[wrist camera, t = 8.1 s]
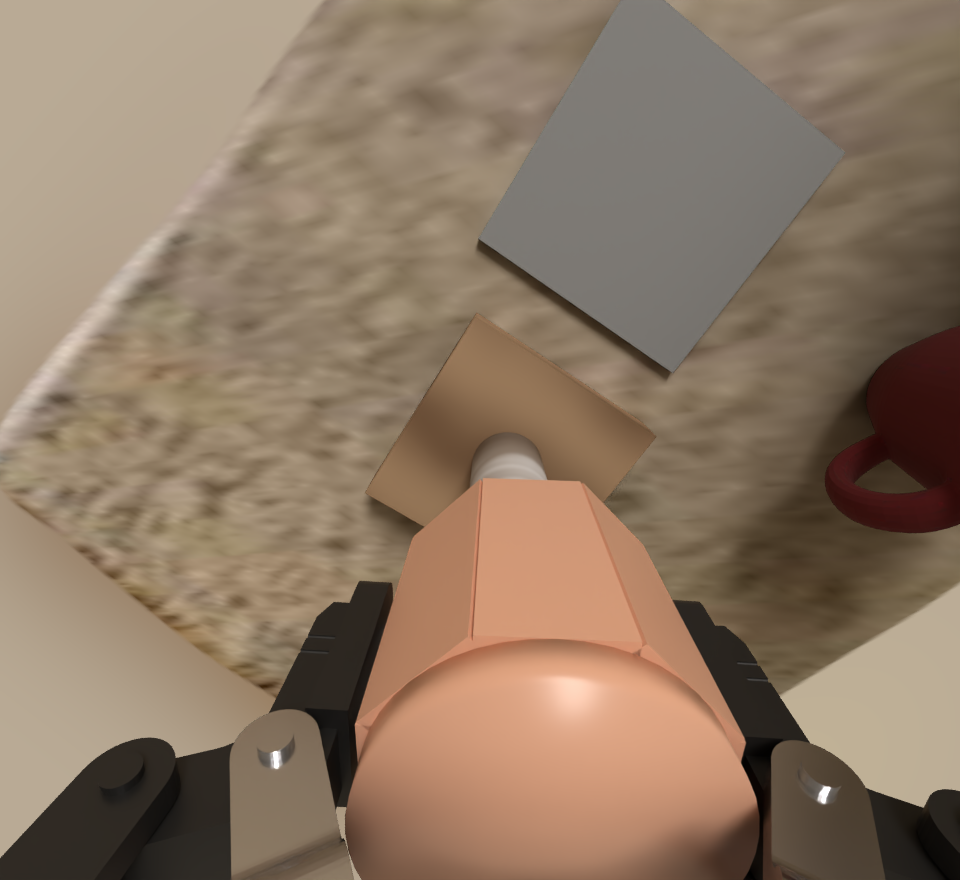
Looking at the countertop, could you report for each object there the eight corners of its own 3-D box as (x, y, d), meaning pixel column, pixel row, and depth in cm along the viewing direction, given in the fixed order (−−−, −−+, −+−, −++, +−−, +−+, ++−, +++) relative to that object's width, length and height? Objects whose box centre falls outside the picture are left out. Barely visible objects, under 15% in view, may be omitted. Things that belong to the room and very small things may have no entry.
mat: (632, -18, 18) (635, -25, 17) (838, 154, 19) (845, 152, 19) (478, 239, 20) (478, 238, 20) (669, 371, 22) (672, 373, 22)
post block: (476, 312, 21) (470, 332, 15) (642, 422, 23) (704, 485, 16) (374, 475, 24) (330, 554, 17) (530, 565, 25) (544, 669, 19)
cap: (654, 483, 12) (803, 693, 6) (625, 676, 14) (718, 975, 8) (400, 475, 12) (310, 671, 6) (406, 667, 14) (342, 955, 8)
